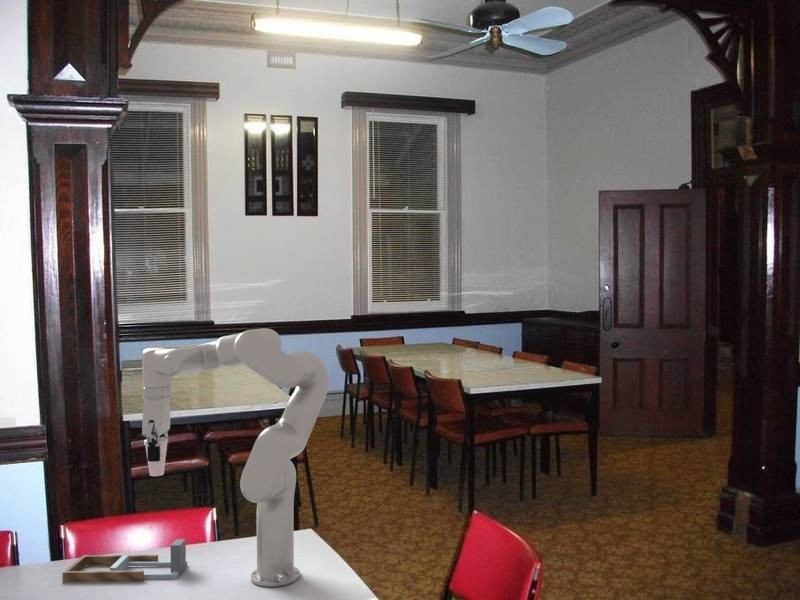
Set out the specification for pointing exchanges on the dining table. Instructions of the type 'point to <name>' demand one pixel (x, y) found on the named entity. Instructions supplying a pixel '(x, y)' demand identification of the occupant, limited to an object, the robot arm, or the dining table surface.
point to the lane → (105, 576)
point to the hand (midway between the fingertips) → (158, 457)
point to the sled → (159, 562)
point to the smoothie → (158, 466)
